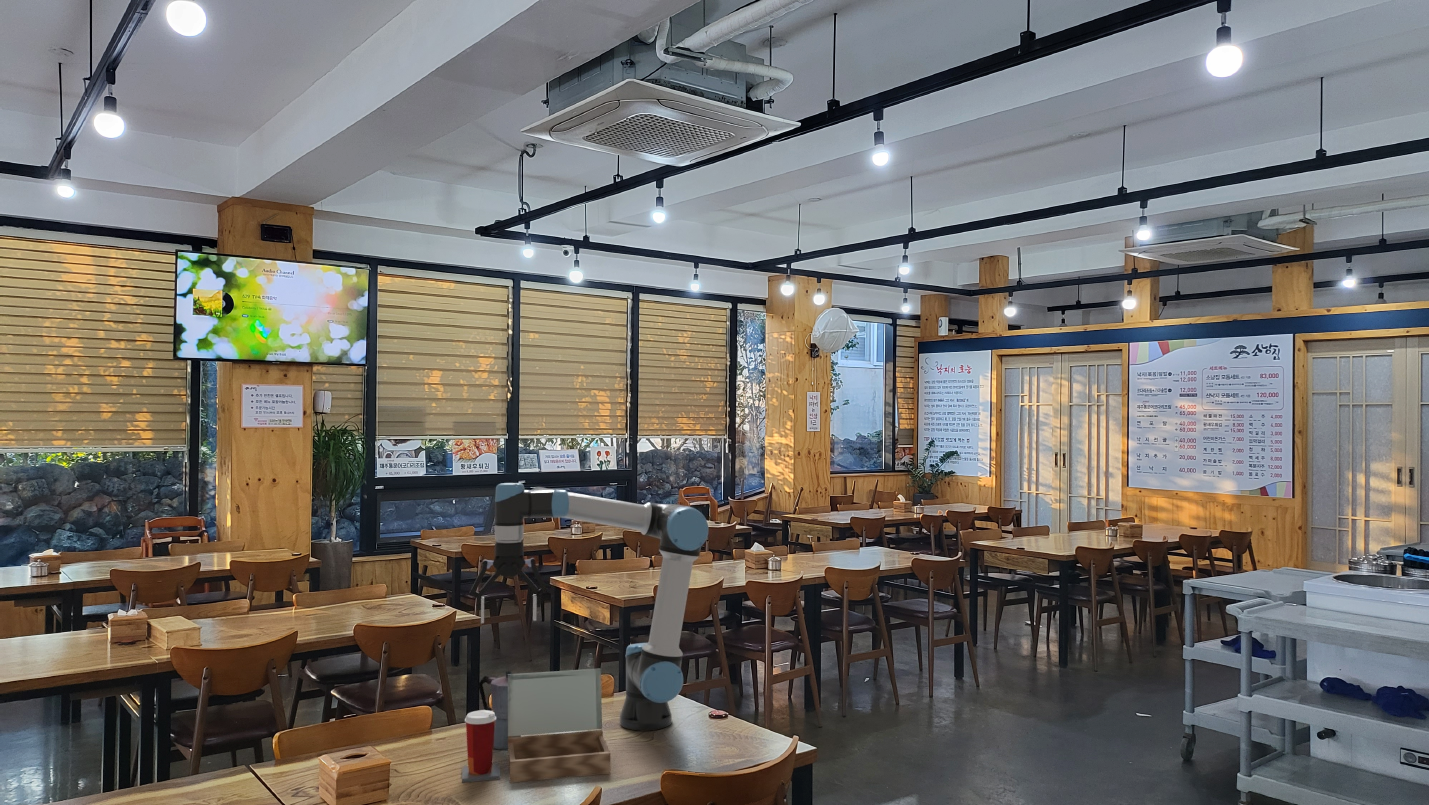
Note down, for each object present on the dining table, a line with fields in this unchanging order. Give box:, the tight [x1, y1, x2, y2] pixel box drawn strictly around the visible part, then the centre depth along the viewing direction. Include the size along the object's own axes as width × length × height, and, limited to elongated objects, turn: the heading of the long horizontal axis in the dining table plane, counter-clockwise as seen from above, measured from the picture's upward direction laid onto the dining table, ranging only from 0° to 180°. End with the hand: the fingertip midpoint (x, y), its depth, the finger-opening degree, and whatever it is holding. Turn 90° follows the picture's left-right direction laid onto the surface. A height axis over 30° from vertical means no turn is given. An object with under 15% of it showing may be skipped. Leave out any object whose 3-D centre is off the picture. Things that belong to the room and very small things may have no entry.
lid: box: [508, 668, 603, 736], centre depth 244 cm, size 24×15×1 cm
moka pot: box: [478, 670, 522, 751], centre depth 251 cm, size 10×15×20 cm, turn 78°
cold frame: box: [507, 729, 611, 784], centre depth 234 cm, size 24×15×6 cm, turn 105°
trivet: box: [461, 762, 501, 783], centre depth 229 cm, size 9×9×1 cm
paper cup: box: [464, 709, 496, 775], centre depth 229 cm, size 8×8×14 cm
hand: (508, 621), depth 246 cm, fingers open, 13 cm apart
